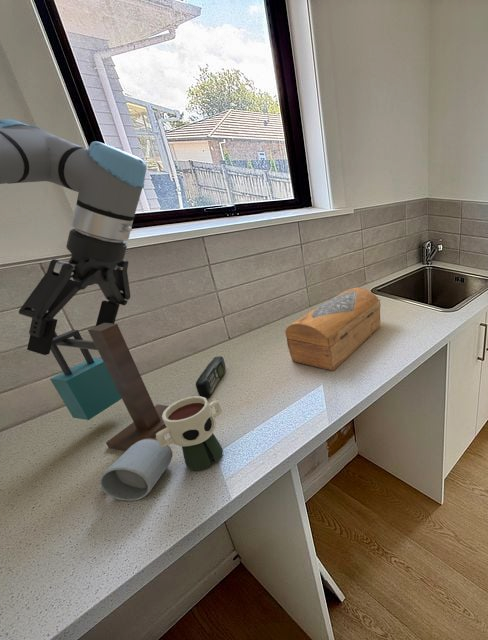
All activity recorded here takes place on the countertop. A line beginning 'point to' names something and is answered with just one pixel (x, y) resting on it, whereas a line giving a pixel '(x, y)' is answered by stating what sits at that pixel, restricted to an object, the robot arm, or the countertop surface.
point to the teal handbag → (83, 382)
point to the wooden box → (334, 329)
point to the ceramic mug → (136, 470)
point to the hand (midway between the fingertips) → (74, 340)
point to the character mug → (192, 430)
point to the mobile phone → (210, 377)
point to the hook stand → (124, 384)
